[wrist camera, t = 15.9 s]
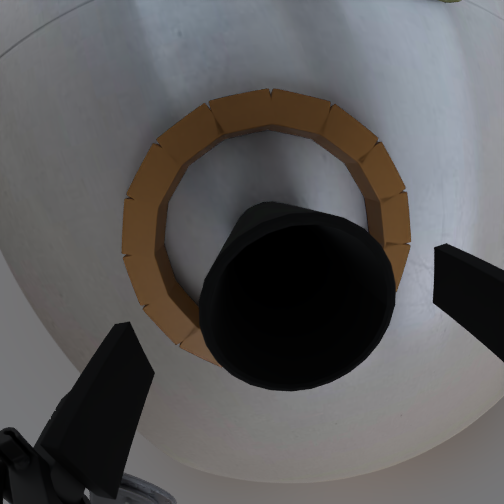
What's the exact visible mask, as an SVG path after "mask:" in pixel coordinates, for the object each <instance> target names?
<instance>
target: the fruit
mask: <svg viewBox="0 0 504 504" xmlns="http://www.w3.org/2000/svg"><path fill="white" fill-rule="evenodd" d="M439 1H443V2H445V3H452V2H459V1H461V0H439Z"/></svg>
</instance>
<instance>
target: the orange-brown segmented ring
mask: <svg viewBox="0 0 504 504" xmlns="http://www.w3.org/2000/svg"><path fill="white" fill-rule="evenodd" d="M330 104H331V102H330V101H326V100H323V99H319V98H315V97H311V96H307V95H303V94H298V93H294V92H289V91H285V90H280V89H275V88H274V89H273V90H272V92H271V94H270V91H269V89H268V88H266V89H261V90H255V91H250V92H245V93H240V94H236V95H231V96H227V97H222V98H218V99H214V100H210V101H209V105H210V109H211V110H210V109H209V107H208V106H207V105H206V104H205V103H203V104H202V105H201V106H199V107H198V108H196V109H195V110H194V111H192V112H191V113H189V114H188V115H187V116H185V117H184V118H183V119H181V120H180V121H179V122H177V123H176V124H175V125H174V126H172V127H171V128H170V129H168V130H167V131H166V132H165V133H163V134H162V135H161V136H160V137H158V138H157V139H156V140H157V142H158V143H159V144H160V145H159V144H155V143H153V144H152V146H151V148H150V149H149V151H148V153H147V155H146V157H145V158H144V160H143V162H142V164H141V166H140V168H139V170H138V172H137V174H136V175H135V177H134V179H133V181H132V183H131V185H130V187H129V189H128V191H127V194H126V195H128V196H129V198H126V199H125V201H124V213H123V230H122V254H126V255H125V256H124V257H123V260H124V263H125V266H126V269H127V272H128V275H129V277H130V280H131V283H132V285H133V288H134V290H135V293H136V296H137V298H138V301H139V303H140V305H145V306H144V307H143V310H144V312H145V313H146V314H147V315H148V316H149V317H150V318H151V319H152V320H153V321H154V323H155V324H156V325H157V326H158V327H159V328H160V329H161V330H162V331H163V332H164V333H165V334H166V335H167V336H168V337H169V338H170V339H171V340H172V341H173V342H174V343H175V345H177V344H179V343H180V342H181V343H180V346H179V347H180V348H182V349H184V350H186V351H188V352H190V353H192V354H194V355H196V356H198V357H200V358H202V359H204V360H206V361H209V362H211V363H213V364H215V365H217V366H219V367H222V366H221V365H220V364H219V363H218V362H217V361H216V360H215V358H214V357H213V355H212V354H211V352H210V351H209V349H208V348H207V346H206V344H205V341H204V338H203V335H202V332H201V329H200V326H199V307H198V306H197V305H196V304H195V303H194V301H193V300H192V299H191V298H190V297H189V296H188V294H187V293H186V292H185V291H184V290H183V289H182V287H181V286H180V285H179V284H178V283H177V281H176V280H175V277H174V274H173V271H172V268H171V265H170V261H169V258H168V255H167V252H166V249H165V246H164V239H165V228H166V218H167V209H168V202H169V200H170V198H171V197H172V195H173V193H174V191H175V189H176V188H177V186H178V184H179V182H180V181H181V179H182V177H183V175H184V174H185V172H186V170H187V168H188V167H189V165H191V164H192V163H193V162H195V161H196V160H197V159H199V158H200V157H201V156H203V155H204V154H205V153H207V152H208V151H209V150H211V149H212V148H213V147H215V146H216V145H218V144H219V143H220V142H222V141H223V140H225V139H228V138H233V137H237V136H241V135H246V134H250V133H255V132H260V131H265V130H271V131H276V132H282V133H287V134H291V135H296V136H301V137H305V138H309V139H312V140H313V141H314V142H316V143H317V144H319V145H320V146H322V147H323V148H324V149H326V150H327V151H329V152H330V153H331V154H333V155H334V156H335V157H337V158H338V159H339V160H341V161H342V162H343V163H345V165H346V167H347V168H348V170H349V172H350V173H351V175H352V177H353V178H354V180H355V182H356V184H357V185H358V187H359V189H360V191H361V192H362V194H363V196H364V198H365V204H366V212H367V220H368V228H369V234H370V235H371V236H373V237H374V238H375V239H376V240H377V241H378V242H379V243H380V244H381V246H382V248H383V249H384V251H385V253H386V255H387V257H388V259H389V260H390V262H391V265H392V269H393V273H394V278H395V282H396V292H397V289H398V286H399V283H400V280H401V277H402V274H403V271H404V267H405V264H406V261H407V257H408V254H409V250H410V245H409V244H407V243H409V242H411V231H410V217H409V206H408V196H407V192H404V191H403V190H404V189H405V188H406V187H405V185H404V183H403V181H402V179H401V177H400V175H399V173H398V171H397V169H396V167H395V165H394V163H393V162H392V160H391V158H390V156H389V154H388V152H387V151H386V149H385V147H384V145H383V143H382V142H377V140H378V137H377V136H375V135H374V134H373V133H372V132H371V131H369V130H368V129H367V128H366V127H365V126H363V125H362V124H361V123H360V122H358V121H357V120H356V119H354V118H353V117H352V116H351V115H349V114H348V113H347V112H345V111H344V110H343V109H341V108H340V107H339V106H337V105H336V104H334V105H332V106H331V107H330Z"/></svg>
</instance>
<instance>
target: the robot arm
mask: <svg viewBox="0 0 504 504" xmlns="http://www.w3.org/2000/svg"><path fill="white" fill-rule="evenodd" d="M433 303H434V304H435V305H436V306H438V307H439V308H440V309H441V310H443V311H444V312H445V313H447V314H448V315H449V316H450V317H452V318H453V319H454V320H455V321H456V322H458V323H459V324H460V325H461V326H463V327H464V328H465V329H466V330H467V331H469V332H470V333H471V334H472V335H473V336H474V337H476V338H477V339H478V340H479V341H480V342H482V343H483V344H484V345H485V346H486V347H487V348H488V349H490V350H491V351H492V352H493V353H494V354H495V355H496V356H497V357H499V358H500V359H501V360H502V361H503V362H504V270H502V269H500V268H498V267H496V266H494V265H492V264H490V263H488V262H486V261H484V260H482V259H479V258H477V257H475V256H473V255H471V254H469V253H467V252H464V251H462V250H460V249H458V248H456V247H453V246H451V245H449V244H447V243H446V244H443V245H440V246H437V247H434V291H433ZM154 374H155V372H154V371H153V369H152V367H151V365H150V363H149V361H148V359H147V357H146V355H145V353H144V351H143V349H142V347H141V345H140V343H139V340H138V338H137V336H136V334H135V332H134V330H133V327H132V325H131V323H130V322H125V323H119V324H115V325H114V326H113V327H112V329H111V330H110V332H109V333H108V335H107V336H106V338H105V339H104V340H103V342H102V343H101V345H100V346H99V348H98V349H97V351H96V352H95V354H94V355H93V357H92V358H91V360H90V361H89V363H88V364H87V366H86V367H85V369H84V371H83V372H82V374H81V375H80V377H79V378H78V380H77V382H76V383H75V385H74V386H73V388H72V390H71V391H70V392H69V393H68V394H66V396H64V397H63V398H62V399H61V401H60V403H59V404H58V406H57V407H56V411H54V413H53V414H52V416H51V419H49V421H48V423H47V424H46V426H45V428H44V429H43V431H42V433H41V435H40V437H39V439H38V440H37V442H36V444H35V446H34V447H32V446H31V445H30V444H29V443H28V442H27V441H26V440H25V439H24V438H23V436H22V435H21V434H20V433H19V432H18V431H17V430H16V429H15V428H11V427H8V428H4V429H3V430H1V431H0V504H3V498H4V499H5V500H6V501H8V502H9V503H10V504H158V503H157V501H156V500H154V499H153V498H152V497H150V496H148V495H146V494H145V493H143V492H140V491H138V490H136V489H133V488H131V487H128V486H126V485H123V484H120V483H121V479H122V476H123V472H124V468H125V465H126V461H127V457H128V455H129V451H130V448H131V444H132V441H133V438H134V435H135V432H136V428H137V425H138V422H139V419H140V416H141V413H142V410H143V407H144V403H145V400H146V397H147V394H148V392H149V389H150V386H151V383H152V380H153V377H154ZM85 488H87V489H88V490H89V492H90V500H89V499H88V498H87V496H86V495H84V494H83V493H84V490H85Z"/></svg>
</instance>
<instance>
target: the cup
mask: <svg viewBox="0 0 504 504" xmlns="http://www.w3.org/2000/svg"><path fill="white" fill-rule="evenodd" d="M395 295H396V282H395V278H394V273H393V269H392V265H391V262H390V260H389V259H388V257H387V255H386V253H385V251H384V249H383V248H382V246H381V244H380V243H379V242H378V241H377V240H376V239H375V238H374V237H373V236H371V235H370V234H369V233H368V232H367V231H366V230H365V229H364V228H362V227H360V226H358V225H356V224H355V223H353V222H351V221H349V220H347V219H345V218H343V217H339V216H335V215H331V214H327V213H323V212H319V211H314V210H310V209H306V208H301V207H297V206H293V205H288V204H284V203H279V202H273V201H272V202H262V203H259V204H256V205H254V206H252V207H251V208H249V209H247V210H246V211H245V212H244V213H243V214H242V215H241V217H240V218H239V220H238V222H237V223H236V225H235V227H234V229H233V230H232V232H231V234H230V236H229V237H228V239H227V241H226V243H225V244H224V246H223V248H222V250H221V251H220V253H219V255H218V257H217V258H216V260H215V262H214V264H213V266H212V267H211V269H210V271H209V273H208V274H207V276H206V278H205V280H204V284H203V288H202V292H201V295H200V299H199V326H200V329H201V332H202V335H203V338H204V341H205V344H206V346H207V348H208V349H209V351H210V352H211V354H212V355H213V357H214V358H215V360H216V361H217V362H218V363H219V364H220V365H221V366H222V367H223V368H224V369H226V370H227V371H228V372H229V373H230V374H231V375H233V376H234V377H236V378H238V379H240V380H242V381H244V382H246V383H248V384H250V385H253V386H257V387H261V388H264V389H268V390H277V391H298V390H305V389H312V388H315V387H318V386H321V385H324V384H327V383H330V382H333V381H335V380H336V379H338V378H340V377H342V376H344V375H346V374H347V373H349V372H351V371H352V370H353V369H354V368H356V367H357V366H358V365H359V364H361V363H362V362H363V361H364V360H365V359H366V358H367V357H368V356H369V355H370V354H371V352H372V351H373V350H374V349H375V348H376V346H377V345H378V344H379V343H380V341H381V339H382V337H383V335H384V334H385V332H386V330H387V328H388V326H389V324H390V321H391V317H392V314H393V310H394V307H395Z"/></svg>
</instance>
